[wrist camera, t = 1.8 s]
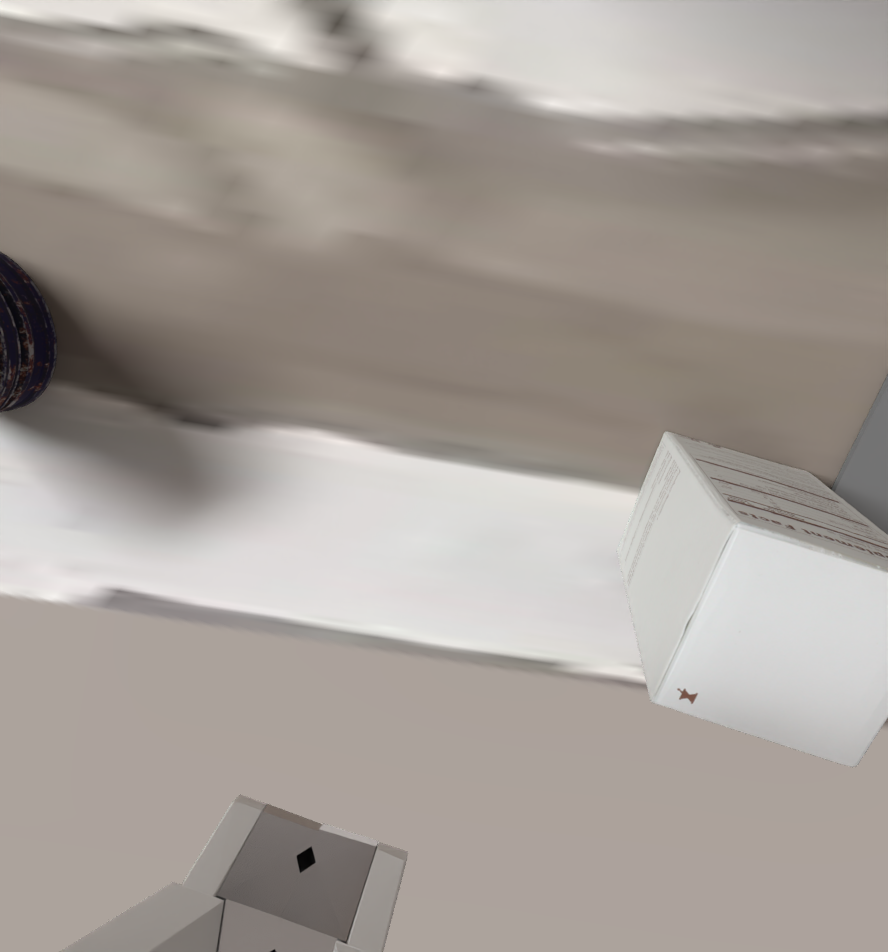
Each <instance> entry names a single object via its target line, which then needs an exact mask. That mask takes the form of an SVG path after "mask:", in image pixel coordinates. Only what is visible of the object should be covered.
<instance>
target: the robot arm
mask: <svg viewBox="0 0 888 952" xmlns="http://www.w3.org/2000/svg"><path fill="white" fill-rule="evenodd" d="M377 846H378V847H377ZM407 855H408V852H407V851H405V850H402V849H399V848H395V847H392V846H389V845H386V844H383V843H379V844H378V841H377V840H374V839H371V838H368V837H365V836H362V835H359V834H356V833H352V832H349V831H346V830H343V829H340V828H337V827H333V826H331V825H328V824H324V823H323V824H320V823H317V822H315V821H312V820H309V819H306V818H304V817H301V816H299V815H296V814H293V813H290V812H288V811H285V810H283V809H280V808H277V807H274V806H272V805H269V804H267V803H264V802H261V801H258V800H255V799H252V798H249V797H246V796H243V795H239V796H238V797H237V798H236V799H235V800H234V801H233V802H232V803H231V805H230V807H229V808H228V810H227V812H226V813H225V815H224V816H223V818H222V820H221V821H220V823H219V825H218V826H217V828H216V829H215V831H214V832H213V834H212V836H211V837H210V839H209V841H208V842H207V844H206V845H205V847H204V849H203V850H202V852H201V854H200V855H199V857H198V858H197V860H196V862H195V863H194V865H193V867H192V868H191V870H190V871H189V873H188V875H187V876H186V878H185V880H184V881H183V883H182V884H178V883H175V882H172V883H170V884H169V885H167V886H165V887H164V888H162V889H160V890H159V891H157V892H155V893H154V894H152V895H151V896H149V897H147V898H146V899H144V900H142V901H141V902H139V903H138V904H136V905H134V906H133V907H131V908H129V909H128V910H126V911H125V912H123V913H121V914H120V915H118V916H116V917H115V918H113V919H112V920H110V921H108V922H107V923H105V924H103V925H102V926H100V927H99V928H97V929H95V930H94V931H92V932H91V933H89V934H87V935H86V936H84V937H82V938H81V939H79V940H78V941H76V942H74V943H73V944H71V945H69V946H68V947H66V948H65V949H63V950H61V951H60V952H383V950H384V947H385V943H386V939H387V935H388V931H389V927H390V923H391V919H392V915H393V911H394V908H395V904H396V900H397V895H398V892H399V888H400V884H401V880H402V877H403V872H404V869H405V865H406V861H407Z"/></svg>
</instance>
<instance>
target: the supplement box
mask: <svg viewBox="0 0 888 952" xmlns="http://www.w3.org/2000/svg"><path fill="white" fill-rule="evenodd" d="M617 554H618V558H619V562H620V567H621V572H622V576H623V581H624V585H625V589H626V594H627V598H628V603H629V608H630V612H631V616H632V621H633V625H634V630H635V634H636V639H637V643H638V648H639V652H640V657H641V661H642V666H643V670H644V675H645V679H646V684H647V688H648V693H649V697H650V701H651V702H652V703H654V704H657V705H661V706H664V707H668V708H670V709H674V710H676V711H679V712H682V713H685V714H688V715H691V716H694V717H697V718H700V719H703V720H706V721H710V722H712V723H716V724H718V725H722V726H725V727H728V728H731V729H734V730H737V731H740V732H743V733H746V734H749V735H752V736H756V737H758V738H762V739H764V740H768V741H771V742H774V743H777V744H780V745H783V746H786V747H789V748H792V749H795V750H798V751H801V752H805V753H808V754H810V755H813V756H817V757H820V758H823V759H826V760H829V761H832V762H835V763H839V764H842V765H846V766H850V767H855V766H857V765H858V764H859V762H860V761H861V759H862V757H863V756H864V754H865V753H866V751H867V750H868V748H869V746H870V745H871V743H872V741H873V740H874V739H875V737H876V736H877V734H878V732H879V731H880V729H881V728H882V726H883V724H884V723H885V721H886V720H887V718H888V535H887V534H886V533H885V532H883V531H882V530H881V529H879V528H878V527H877V526H876V525H875V524H873V523H872V522H871V521H870V520H868V519H867V518H866V517H865V516H863V515H862V514H861V513H860V512H858V511H857V510H856V509H855V508H854V507H852V506H851V505H850V504H848V503H847V502H846V501H845V500H844V499H842V498H841V497H840V496H838V495H837V494H836V493H835V492H833V491H832V490H831V489H829V488H828V487H827V486H826V485H825V484H823V483H822V482H821V481H820V480H819V479H817V478H816V477H815V476H813V475H812V474H811V473H809V472H807V471H805V470H800V469H797V468H793V467H790V466H786V465H782V464H779V463H775V462H772V461H768V460H765V459H761V458H758V457H754V456H751V455H748V454H744V453H741V452H737V451H734V450H730V449H727V448H723V447H720V446H716V445H713V444H710V443H706V442H703V441H699V440H696V439H692V438H689V437H685V436H682V435H678V434H675V433H671V432H665V433H664V435H663V437H662V440H661V442H660V444H659V447H658V449H657V451H656V454H655V456H654V458H653V461H652V463H651V466H650V468H649V471H648V473H647V476H646V478H645V481H644V483H643V486H642V488H641V491H640V493H639V496H638V498H637V501H636V503H635V506H634V509H633V511H632V514H631V516H630V519H629V521H628V524H627V526H626V529H625V531H624V534H623V536H622V539H621V541H620V544H619V546H618V549H617Z"/></svg>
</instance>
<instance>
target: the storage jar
mask: <svg viewBox="0 0 888 952" xmlns="http://www.w3.org/2000/svg"><path fill="white" fill-rule="evenodd" d="M56 357H57V340H56V334H55V328H54V324H53V321H52V318H51V314H50V312H49V309H48V307H47V305H46V303H45V300H44V298H43V297H42V295H41V293H40V292H39V290H38V288H37V287H36V285H35V284H34V283H33V281H32V280H31V279H30V277H29V276H28V275H27V274H26V273H25V272H24V271H23V270H22V269H21V268H20V267H19V266H18V265H17V264H16V263H15V262H14V261H12V260H11V259H10V258H9V257H7V256H6V255H4V254H3V253H1V252H0V412H2V411H9V410H13V409H16V408H20V407H23V406H26V405H27V404H29V403H31V402H33V401H34V400H35V399H37V398H38V397H39V396H40V395H41V394H42V393H43V391H44V390H45V389H46V388H47V386H48V384H49V382H50V380H51V378H52V376H53V372H54V369H55V365H56Z"/></svg>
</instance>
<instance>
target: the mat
mask: <svg viewBox="0 0 888 952" xmlns="http://www.w3.org/2000/svg"><path fill="white" fill-rule="evenodd" d="M831 490H832V491H833V492H835V493H836V494H837V495H838V496H840V497H841V498H842V499H844V500H845V501H846V502H847V503H848V504H850V505H851V506H852V507H854V508H855V509H856V510H857V511H858V512H860V513H861V514H862V515H863V516H865V517H866V518H867V519H868V520H870V521H871V522H872V523H873V524H875V525H876V526H877V527H878V528H879V529H881V530H882V531H883V532H885V533H886V534H887V535H888V375H887V377H886V379H885V381H884V383H883V385H882V387H881V389H880V392H879V394H878V396H877V398H876V400H875V402H874V404H873V406H872V408H871V410H870V412H869V414H868V416H867V418H866V420H865V422H864V424H863V426H862V428H861V430H860V432H859V434H858V436H857V438H856V440H855V442H854V444H853V446H852V448H851V450H850V452H849V454H848V456H847V458H846V460H845V462H844V464H843V466H842V468H841V470H840V472H839V474H838V476H837V478H836V480H835V482H834V484H833V486H832V488H831Z"/></svg>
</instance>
